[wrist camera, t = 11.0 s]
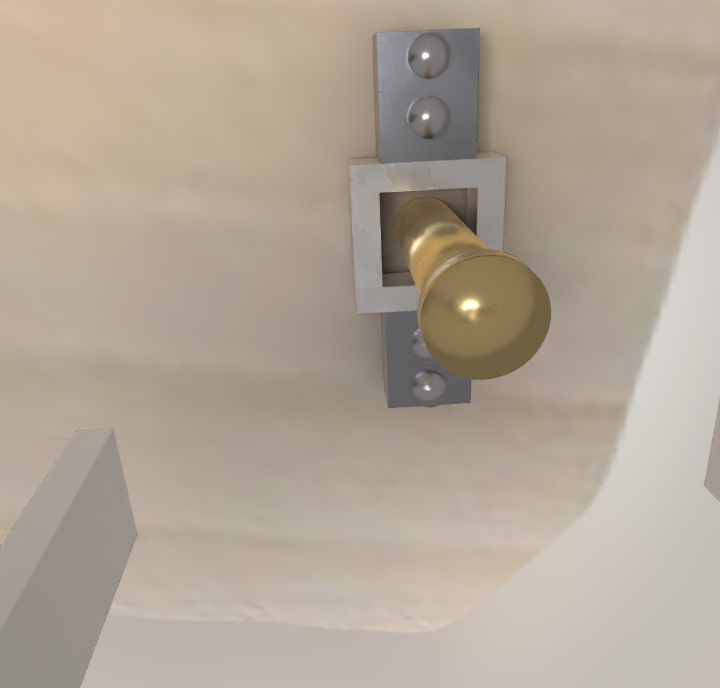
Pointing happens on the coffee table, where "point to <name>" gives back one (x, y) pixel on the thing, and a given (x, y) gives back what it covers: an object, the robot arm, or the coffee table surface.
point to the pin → (470, 294)
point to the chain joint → (421, 172)
